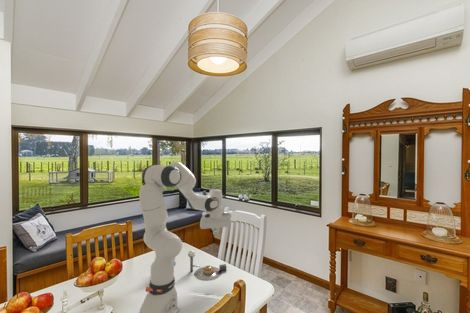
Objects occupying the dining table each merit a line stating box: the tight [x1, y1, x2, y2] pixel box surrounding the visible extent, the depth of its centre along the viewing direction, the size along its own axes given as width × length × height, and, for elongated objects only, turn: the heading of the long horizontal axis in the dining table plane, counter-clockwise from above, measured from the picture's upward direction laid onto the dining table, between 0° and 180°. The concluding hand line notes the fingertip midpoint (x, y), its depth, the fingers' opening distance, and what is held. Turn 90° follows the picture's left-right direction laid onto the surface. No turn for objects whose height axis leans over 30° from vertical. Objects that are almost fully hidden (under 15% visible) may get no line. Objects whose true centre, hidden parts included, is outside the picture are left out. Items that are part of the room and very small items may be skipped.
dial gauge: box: [187, 250, 201, 273], centre depth 147 cm, size 8×4×15 cm, turn 78°
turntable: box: [193, 263, 227, 282], centre depth 146 cm, size 20×17×4 cm
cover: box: [203, 265, 215, 276], centre depth 146 cm, size 7×7×4 cm
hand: (215, 234), depth 151 cm, fingers closed
